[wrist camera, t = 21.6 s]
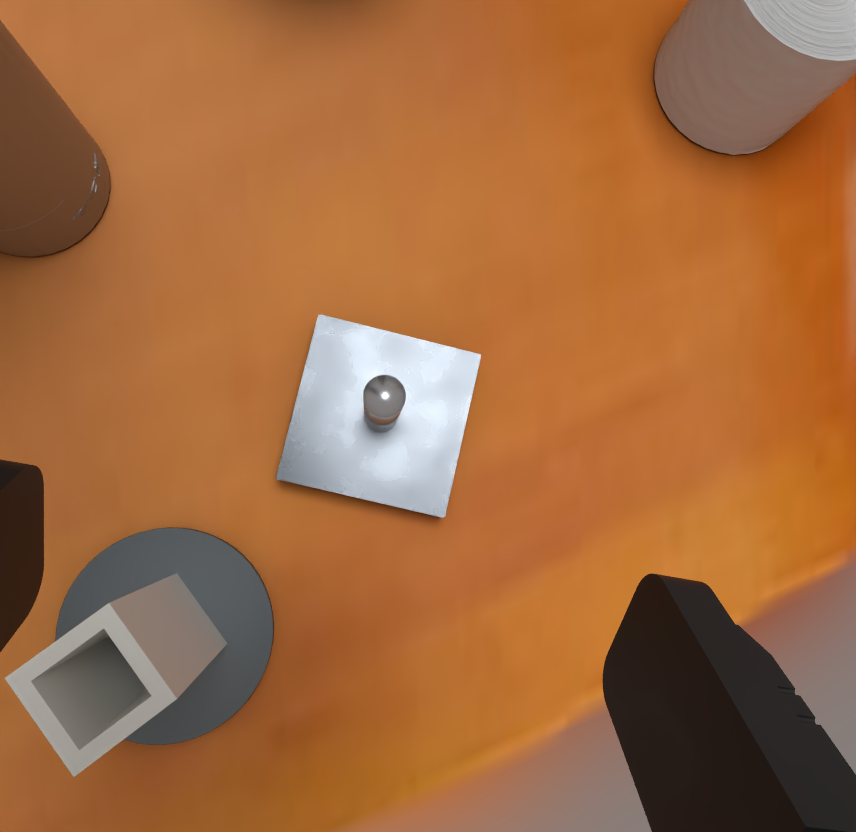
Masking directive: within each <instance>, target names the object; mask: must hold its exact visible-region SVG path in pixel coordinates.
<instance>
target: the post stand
mask: <svg viewBox="0 0 856 832" xmlns="http://www.w3.org/2000/svg"><path fill="white" fill-rule="evenodd" d="M480 358H481V354H477V353H473V352H469V351H465V350H461V349H457V348H453V347H449V346H445V345H441V344H437V343H433V342H429V341H425V340H421V339H417V338H413V337H409V336H405V335H401V334H397V333H393V332H389V331H385V330H381V329H377V328H373V327H369V326H365V325H361V324H357V323H353V322H349V321H345V320H341V319H337V318H333V317H329V316H325V315H320V314H319V315H318V319H317V322H316V326H315V330H314V334H313V338H312V342H311V345H310V349H309V353H308V357H307V361H306V365H305V368H304V372H303V376H302V380H301V384H300V388H299V391H298V395H297V399H296V403H295V407H294V411H293V414H292V418H291V422H290V426H289V430H288V434H287V438H286V441H285V445H284V449H283V453H282V457H281V461H280V464H279V468H278V472H277V476H276V479H278V480H283V481H287V482H291V483H296V484H300V485H304V486H308V487H313V488H317V489H321V490H326V491H330V492H334V493H339V494H343V495H347V496H352V497H356V498H360V499H365V500H369V501H373V502H377V503H382V504H386V505H390V506H395V507H399V508H403V509H408V510H412V511H416V512H421V513H425V514H429V515H434V516H438V517H442V518H445V514H446V509H447V505H448V500H449V496H450V492H451V487H452V483H453V478H454V474H455V469H456V465H457V460H458V456H459V452H460V447H461V443H462V438H463V434H464V429H465V425H466V420H467V416H468V411H469V407H470V403H471V398H472V394H473V389H474V385H475V380H476V376H477V371H478V367H479V363H480Z"/></svg>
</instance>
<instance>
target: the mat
mask: <svg viewBox="0 0 856 832" xmlns="http://www.w3.org/2000/svg"><path fill="white" fill-rule="evenodd" d="M176 573H177V574H178V575H179V577H180V578H181V579H182V581H183V582H184V584H185V585H186V586H187V588H188V589H189V591H190V592H191V593H192V595H193V596H194V598H195V599H196V600H197V602H198V603H199V605H200V606H201V607H202V609H203V610H204V612H205V613H206V614H207V616H208V617H209V618H210V620H211V621H212V623H213V624H214V625H215V627H216V628H217V630H218V631H219V632H220V634H221V635H222V637H223V638H224V639H225V641H226V642H227V645H226V646H225V647H224V648H223V649H222V650H221V651H220V652H219V653H218V654H217V656H216V657H215V658H214V659H213V660H212V661H211V662H210V663H209V664H208V665H207V667H206V668H205V669H204V670H203V671H202V672H201V673H200V674H199V675H198V677H197V678H196V679H195V680H194V681H193V682H192V683H191V684H190V685H189V686H188V688H187V689H186V690H185V691H184V692H183V693H182V694H181V695H180V696H179V697H178V699H176V700H175V701H174V702H172V703H171V704H170V705H168V706H167V707H166V708H165V709H163V710H162V711H161V712H159V713H158V714H157V715H155V716H154V717H153V718H151V719H150V720H149V721H147V722H146V723H145V724H143V725H142V726H141V727H139V728H138V729H137V730H135V731H134V732H133V733H131V734H130V735H129V736H128V737H126V738H125V739H124V740H127V741H131V742H135V743H141V744H149V745H166V744H173V743H180V742H183V741H187V740H191V739H194V738H196V737H199V736H201V735H204V734H206V733H208V732H210V731H211V730H213V729H215V728H217V727H218V726H220V725H221V724H223V723H224V722H225V721H227V720H228V719H229V718H231V717H232V716H233V715H234V714H235V713H236V712H237V711H238V710H239V709H240V708H241V707H242V706H243V705H244V704H245V702H246V701H247V700H248V699H249V697H250V696H251V695H252V693H253V692H254V690H255V688H256V687H257V685H258V684H259V682H260V680H261V678H262V676H263V673H264V671H265V669H266V667H267V664H268V661H269V657H270V654H271V649H272V644H273V634H274V621H273V611H272V606H271V601H270V598H269V595H268V592H267V589H266V587H265V585H264V583H263V581H262V579H261V577H260V575H259V574H258V572H257V571H256V569H255V568H254V566H253V565H252V564H251V563H250V562H249V561H248V559H247V558H246V557H245V556H244V555H243V554H242V553H240V552H239V551H238V550H237V549H236V548H234V547H233V546H232V545H230V544H228V543H227V542H225V541H224V540H222V539H220V538H218V537H215V536H213V535H211V534H208V533H205V532H201V531H198V530H193V529H187V528H161V529H154V530H149V531H145V532H140V533H137V534H134V535H132V536H129V537H126V538H124V539H122V540H120V541H118V542H116V543H114V544H112V545H111V546H110V547H108V548H107V549H105V550H104V551H102V552H101V553H100V554H98V555H97V556H96V557H95V558H94V559H93V560H92V561H91V562H89V564H88V565H87V566H86V567H85V568H84V569H83V570H82V571H81V573H80V574H79V575H78V577H77V578H76V580H75V581H74V583H73V584H72V585H71V587H70V589H69V591H68V593H67V595H66V597H65V599H64V602H63V605H62V607H61V610H60V614H59V618H58V622H57V628H56V638H55V641H57V640H58V639H59V638H61V637H62V636H64V635H65V634H66V633H68V632H69V631H71V630H72V629H73V628H75V627H76V626H78V625H79V624H80V623H82V622H83V621H84V620H86V619H87V618H89V617H90V616H91V615H93V614H94V613H96V612H97V611H98V610H100V609H101V608H102V607H104V606H105V605H107V604H108V603H110V602H112V601H114V600H117V599H119V598H121V597H123V596H126V595H128V594H130V593H133V592H135V591H137V590H139V589H142V588H144V587H146V586H148V585H151V584H153V583H155V582H158V581H160V580H162V579H164V578H167V577H169V576H171V575H173V574H176Z"/></svg>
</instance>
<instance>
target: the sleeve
mask: <svg viewBox="0 0 856 832" xmlns="http://www.w3.org/2000/svg"><path fill="white" fill-rule="evenodd" d="M226 645H227V642H226V641H225V639H224V638H223V637H222V635H221V634H220V632H219V631H218V630H217V628H216V627H215V625H214V624H213V623H212V621H211V620H210V618H209V617H208V616H207V614H206V613H205V612H204V610H203V609H202V607H201V606H200V605H199V603H198V602H197V600H196V599H195V598H194V596H193V595H192V593H191V592H190V591H189V589H188V588H187V586H186V585H185V584H184V582H183V581H182V579H181V578H180V577H179V575H178V574H177V573H176V574H173V575H171V576H169V577H167V578H164V579H162V580H160V581H158V582H155V583H153V584H151V585H148V586H146V587H144V588H142V589H139V590H137V591H135V592H133V593H130V594H128V595H126V596H123V597H121V598H119V599H117V600H114V601H112V602H110V603H108V604H107V605H105V606H104V607H102V608H101V609H100V610H98V611H97V612H96V613H94V614H93V615H91V616H90V617H89V618H87V619H86V620H84V621H83V622H82V623H80V624H79V625H78V626H76V627H75V628H73V629H72V630H71V631H69V632H68V633H66V634H65V635H64V636H62V637H61V638H59V639H58V640H57V641H55V642H54V643H53V644H51V645H50V646H48V647H47V648H46V649H44V650H43V651H41V652H40V653H39V654H37V655H36V656H35V657H33V658H32V659H30V660H29V661H28V662H26V663H25V664H23V665H22V666H21V667H19V668H18V669H16V670H15V671H14V672H12V673H11V674H10V675H8V676H7V677H5V680H6V681H7V683H8V684H9V685H10V687H11V688H12V690H13V691H14V693H15V694H16V695H17V697H18V698H19V700H20V701H21V703H22V704H23V705H24V707H25V708H26V710H27V711H28V713H29V714H30V715H31V717H32V718H33V720H34V721H35V723H36V724H37V725H38V727H39V728H40V730H41V731H42V733H43V734H44V735H45V737H46V738H47V740H48V741H49V743H50V744H51V745H52V747H53V748H54V750H55V751H56V753H57V754H58V755H59V757H60V758H61V760H62V761H63V763H64V764H65V765H66V767H67V768H68V770H69V771H70V773H71V774H72V775H73V777H75V776H76V775H77V774H79V773H80V772H81V771H83V770H84V769H85V768H87V767H88V766H89V765H91V764H92V763H93V762H95V761H96V760H97V759H98V758H100V757H101V756H102V755H104V754H105V753H106V752H108V751H109V750H110V749H112V748H113V747H114V746H116V745H117V744H118V743H120V742H121V741H122V740H124V739H125V738H126V737H128V736H129V735H130V734H131V733H133V732H134V731H135V730H137V729H138V728H139V727H141V726H142V725H143V724H145V723H146V722H147V721H149V720H150V719H151V718H153V717H154V716H155V715H157V714H158V713H159V712H161V711H162V710H163V709H165V708H166V707H167V706H168V705H170V704H171V703H172V702H174V701H175V700H176V699H178V697H179V696H180V695H181V694H182V693H183V692H184V691H185V690H186V689H187V688H188V686H189V685H190V684H191V683H192V682H193V681H194V680H195V679H196V678H197V677H198V675H199V674H200V673H201V672H202V671H203V670H204V669H205V668H206V667H207V665H208V664H209V663H210V662H211V661H212V660H213V659H214V658H215V657H216V656H217V654H218V653H219V652H220V651H221V650H222V649H223V648H224V647H225V646H226Z"/></svg>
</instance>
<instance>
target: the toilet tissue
mask: <svg viewBox="0 0 856 832" xmlns="http://www.w3.org/2000/svg"><path fill="white" fill-rule="evenodd" d="M855 74H856V0H690V1H689V2H688V3H687V4H686V5H685V7H684V9H683V11H682V13H681V14H680V16H679V17H678V19H677V20H676V22H675V24H674V25H673V26H672V27H671V29H670V30H669V31H668V33H667V35H666V36H665V38H664V40H663V42H662V45H661V47H660V49H659V51H658V54H657V58H656V62H655V75H654V80H655V86H656V92H657V95H658V98H659V101H660V103H661V106H662V108H663V110H664V111H665V113H666V115H667V116H668V118H669V120H670V121H671V122H672V123H673V124H674V125H675V126H676V128H677V129H678V130H679V131H680V132H681V133H683V134H684V135H685V136H686V137H688V138H689V139H690V140H691V141H693V142H695V143H697V144H699V145H701V146H703V147H704V148H707V149H710V150H713V151H717V152H720V153H727V154H730V155H737V154H750V153H753V152H757V151H760V150H763V149H764V148H766V147H768V146H769V145H771V144H772V143H774V142H775V141H776V140H778V139H779V138H781V137H782V136H783V135H784V134H785V133H786V132H788V131H789V130H790V129H791V128H792V127H793V126H794V125H795V124H797V123H798V122H799V121H800V120H801V119H803V118H804V117H805V116H806V115H807V114H809V113H810V112H812V111H813V110H814V109H815V108H816V107H817V105H818V104H819V103H821V102H822V101H824V100H825V99H827V98H828V97H829V96H830V95H831V94H833V93H834V91H835V90H836V89H838V88H840V87H841V85H843V84H844V83H846V82H847V81H848V80H849V79H850V78H851V77H852V76H853V75H855Z"/></svg>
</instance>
